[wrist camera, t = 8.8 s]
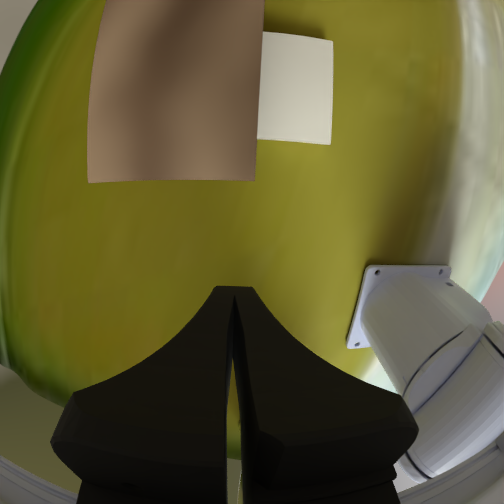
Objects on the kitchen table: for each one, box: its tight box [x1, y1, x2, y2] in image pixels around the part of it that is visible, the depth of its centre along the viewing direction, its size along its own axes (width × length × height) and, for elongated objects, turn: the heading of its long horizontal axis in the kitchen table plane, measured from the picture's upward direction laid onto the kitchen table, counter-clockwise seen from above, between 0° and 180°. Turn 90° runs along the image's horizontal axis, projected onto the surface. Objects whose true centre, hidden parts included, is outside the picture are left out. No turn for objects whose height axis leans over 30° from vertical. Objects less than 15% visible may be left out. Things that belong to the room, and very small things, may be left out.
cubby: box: [87, 0, 265, 183], centre depth 13 cm, size 9×12×4 cm
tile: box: [257, 32, 333, 145], centre depth 15 cm, size 12×7×2 cm, turn 88°
